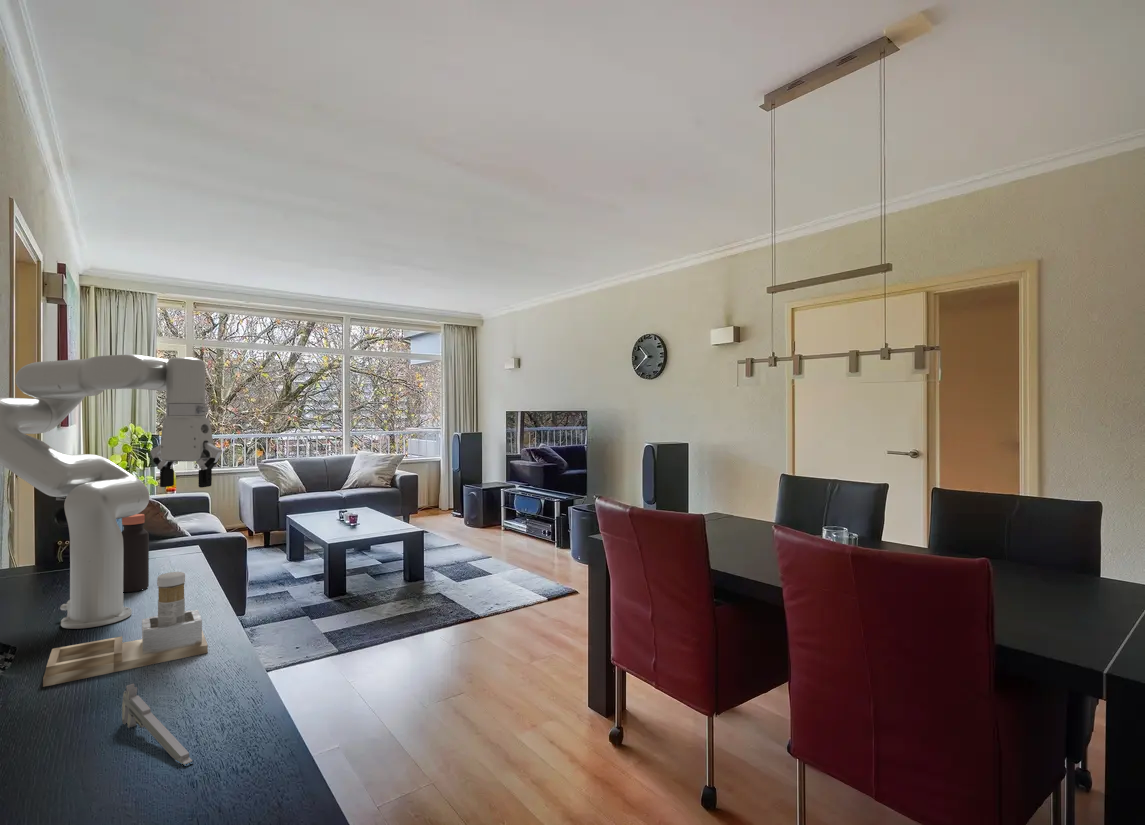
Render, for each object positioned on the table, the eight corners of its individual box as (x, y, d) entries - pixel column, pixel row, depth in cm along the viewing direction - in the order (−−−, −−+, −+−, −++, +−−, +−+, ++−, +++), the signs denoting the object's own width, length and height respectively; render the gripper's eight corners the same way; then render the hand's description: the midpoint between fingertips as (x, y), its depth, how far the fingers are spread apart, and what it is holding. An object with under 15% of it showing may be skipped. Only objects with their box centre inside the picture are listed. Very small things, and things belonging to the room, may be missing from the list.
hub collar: (142, 655, 110) (142, 631, 110) (141, 640, 118) (142, 618, 118) (202, 644, 116) (202, 620, 116) (197, 630, 123) (197, 609, 123)
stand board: (43, 686, 101) (43, 669, 101) (50, 664, 110) (50, 647, 110) (207, 652, 115) (207, 637, 115) (201, 635, 125) (201, 620, 125)
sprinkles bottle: (174, 637, 120) (174, 570, 120) (190, 639, 118) (190, 572, 118) (151, 645, 115) (151, 576, 116) (168, 647, 114) (168, 577, 114)
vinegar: (154, 587, 162) (155, 513, 162) (130, 594, 156) (131, 517, 156) (135, 585, 164) (135, 513, 164) (110, 592, 157) (111, 517, 157)
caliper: (121, 725, 88) (121, 683, 88) (130, 722, 89) (130, 680, 89) (184, 770, 77) (184, 721, 77) (194, 766, 78) (194, 718, 78)
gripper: (232, 411, 138) (231, 485, 138) (165, 412, 140) (165, 484, 140) (207, 411, 130) (207, 489, 130) (138, 412, 133) (138, 488, 133)
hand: (185, 486), depth 135 cm, fingers open, 9 cm apart
